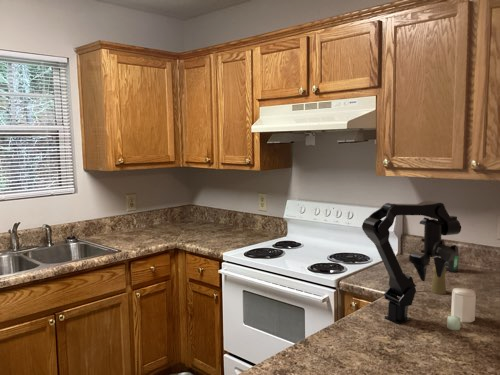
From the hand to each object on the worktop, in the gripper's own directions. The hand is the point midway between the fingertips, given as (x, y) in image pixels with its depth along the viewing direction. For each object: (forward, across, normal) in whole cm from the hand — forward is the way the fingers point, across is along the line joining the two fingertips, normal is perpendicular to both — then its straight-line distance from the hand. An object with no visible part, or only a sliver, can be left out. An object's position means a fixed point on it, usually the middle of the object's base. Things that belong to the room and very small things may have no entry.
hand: (431, 279), depth 161 cm
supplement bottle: (+13, +57, +29) cm, 65 cm away
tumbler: (+13, +6, -9) cm, 17 cm away
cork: (+13, +24, +13) cm, 30 cm away
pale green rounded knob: (+13, -4, -12) cm, 18 cm away
